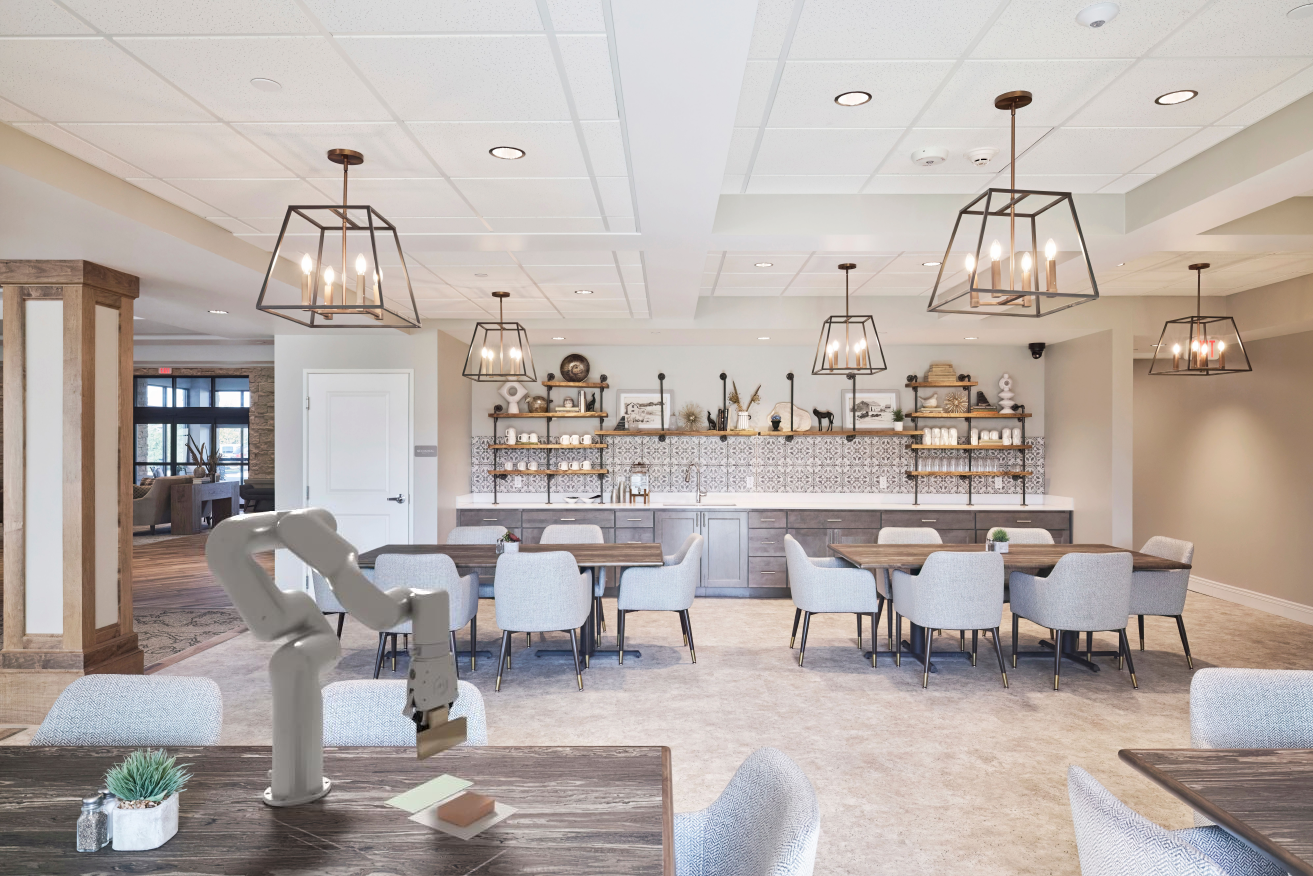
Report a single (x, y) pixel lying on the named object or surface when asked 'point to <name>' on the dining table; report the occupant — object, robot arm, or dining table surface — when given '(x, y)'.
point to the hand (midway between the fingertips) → (432, 738)
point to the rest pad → (429, 793)
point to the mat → (466, 832)
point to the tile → (466, 808)
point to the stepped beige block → (440, 733)
